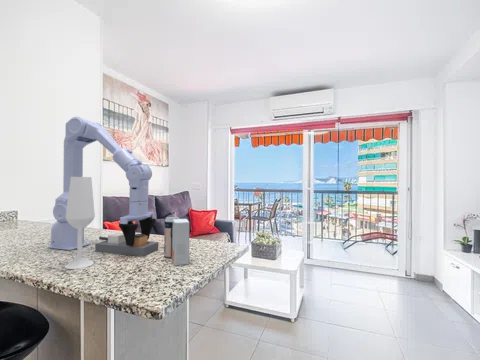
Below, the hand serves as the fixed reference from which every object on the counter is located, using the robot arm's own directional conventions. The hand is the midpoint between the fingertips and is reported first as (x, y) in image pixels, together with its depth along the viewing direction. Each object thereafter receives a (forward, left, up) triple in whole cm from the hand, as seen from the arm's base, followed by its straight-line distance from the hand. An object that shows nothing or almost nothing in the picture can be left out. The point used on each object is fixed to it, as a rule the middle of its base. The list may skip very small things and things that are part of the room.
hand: (138, 242), depth 80 cm
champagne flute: (-7, -15, -3) cm, 17 cm away
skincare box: (+18, -5, -3) cm, 19 cm away
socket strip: (-4, 0, -3) cm, 5 cm away
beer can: (+13, -1, -3) cm, 13 cm away
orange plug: (0, 0, -3) cm, 3 cm away
